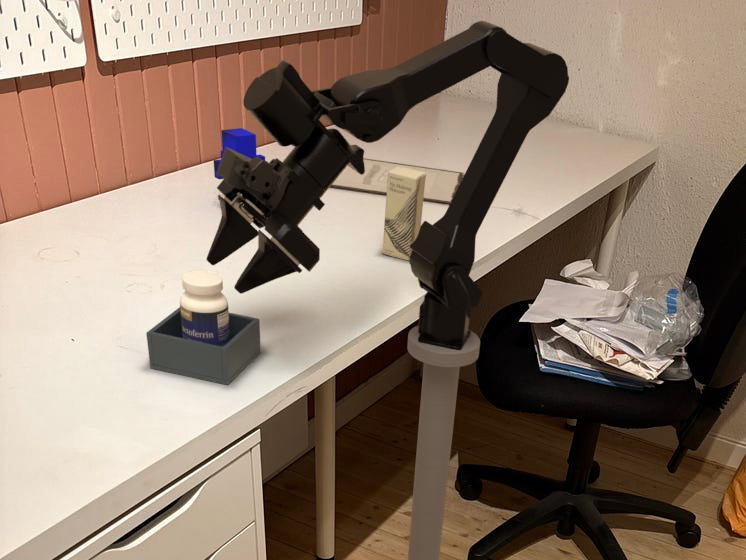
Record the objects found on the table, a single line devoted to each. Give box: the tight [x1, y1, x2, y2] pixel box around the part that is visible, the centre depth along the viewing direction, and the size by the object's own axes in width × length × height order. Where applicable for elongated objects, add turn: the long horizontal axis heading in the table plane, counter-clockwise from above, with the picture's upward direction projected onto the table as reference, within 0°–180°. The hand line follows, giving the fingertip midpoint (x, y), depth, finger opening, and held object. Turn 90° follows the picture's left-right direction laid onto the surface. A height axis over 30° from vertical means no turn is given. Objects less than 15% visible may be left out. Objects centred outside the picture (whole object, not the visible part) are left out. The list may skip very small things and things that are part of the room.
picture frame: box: [330, 157, 464, 204], centre depth 189 cm, size 22×1×30 cm
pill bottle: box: [179, 270, 230, 347], centre depth 118 cm, size 6×6×10 cm
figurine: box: [213, 127, 266, 180], centre depth 162 cm, size 8×8×12 cm
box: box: [382, 166, 426, 261], centre depth 154 cm, size 5×4×13 cm
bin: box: [146, 306, 261, 386], centre depth 120 cm, size 10×10×5 cm
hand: (223, 276), depth 116 cm, fingers open, 9 cm apart
